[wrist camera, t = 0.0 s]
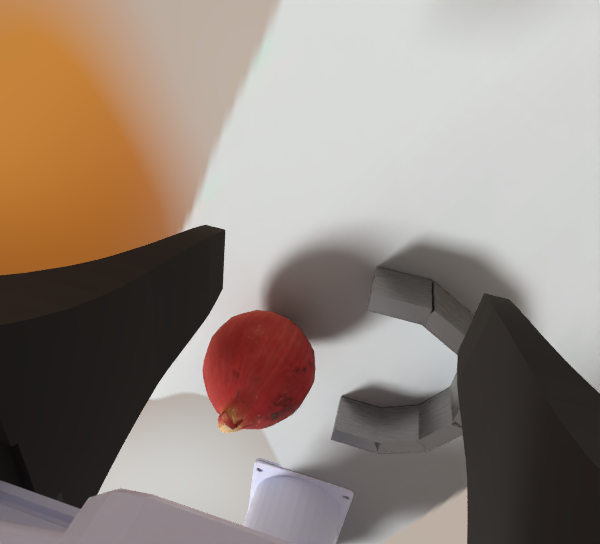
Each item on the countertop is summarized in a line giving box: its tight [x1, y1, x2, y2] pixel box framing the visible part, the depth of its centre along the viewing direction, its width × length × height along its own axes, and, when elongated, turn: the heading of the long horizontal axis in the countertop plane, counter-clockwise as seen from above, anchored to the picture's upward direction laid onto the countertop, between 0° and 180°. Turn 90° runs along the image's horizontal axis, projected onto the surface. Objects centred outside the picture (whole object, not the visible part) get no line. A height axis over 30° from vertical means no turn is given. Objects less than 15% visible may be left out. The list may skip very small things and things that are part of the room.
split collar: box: [331, 267, 473, 454], centre depth 23 cm, size 11×7×3 cm, turn 172°
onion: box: [203, 310, 315, 433], centre depth 22 cm, size 6×6×8 cm
